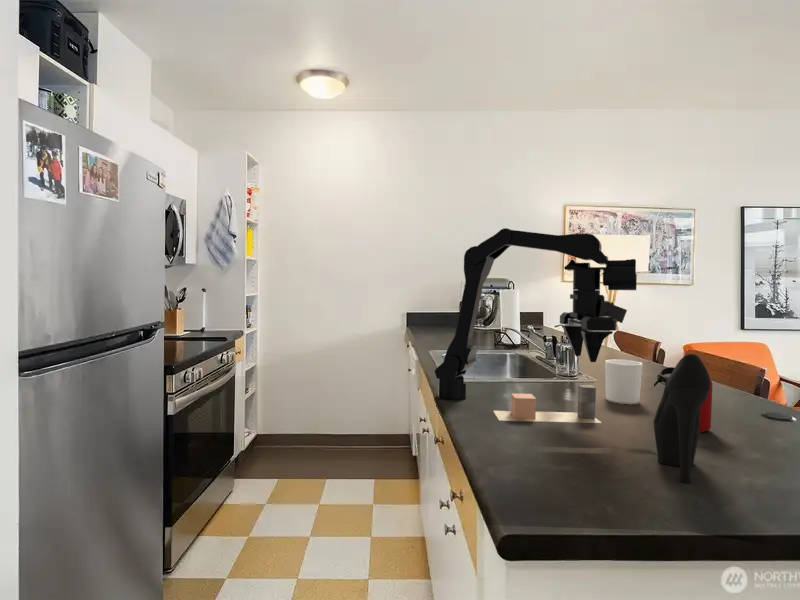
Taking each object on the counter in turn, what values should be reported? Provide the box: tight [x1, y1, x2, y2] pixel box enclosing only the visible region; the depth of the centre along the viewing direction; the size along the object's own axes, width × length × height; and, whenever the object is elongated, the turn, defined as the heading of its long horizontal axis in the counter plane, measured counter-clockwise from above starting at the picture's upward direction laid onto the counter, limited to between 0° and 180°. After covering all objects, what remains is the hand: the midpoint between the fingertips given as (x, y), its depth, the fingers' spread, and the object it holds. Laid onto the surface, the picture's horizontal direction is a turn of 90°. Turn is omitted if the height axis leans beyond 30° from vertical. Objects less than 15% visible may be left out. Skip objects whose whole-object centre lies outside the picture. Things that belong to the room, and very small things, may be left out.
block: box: [510, 393, 537, 419], centre depth 109 cm, size 4×4×4 cm
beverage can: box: [699, 378, 713, 433], centre depth 104 cm, size 7×7×12 cm
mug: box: [604, 358, 644, 406], centre depth 129 cm, size 11×9×10 cm
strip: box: [493, 384, 603, 424], centre depth 109 cm, size 22×8×8 cm, turn 88°
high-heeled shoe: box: [653, 353, 711, 484], centre depth 82 cm, size 8×19×20 cm, turn 161°
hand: (585, 358), depth 111 cm, fingers open, 9 cm apart
